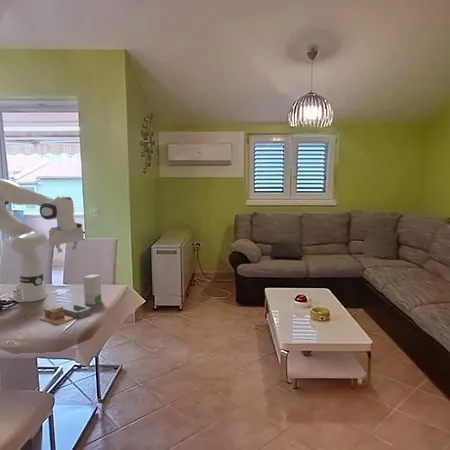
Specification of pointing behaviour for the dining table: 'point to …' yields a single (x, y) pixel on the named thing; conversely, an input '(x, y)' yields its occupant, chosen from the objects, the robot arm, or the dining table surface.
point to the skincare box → (92, 289)
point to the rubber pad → (57, 320)
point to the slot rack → (78, 311)
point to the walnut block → (54, 313)
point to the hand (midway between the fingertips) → (67, 250)
